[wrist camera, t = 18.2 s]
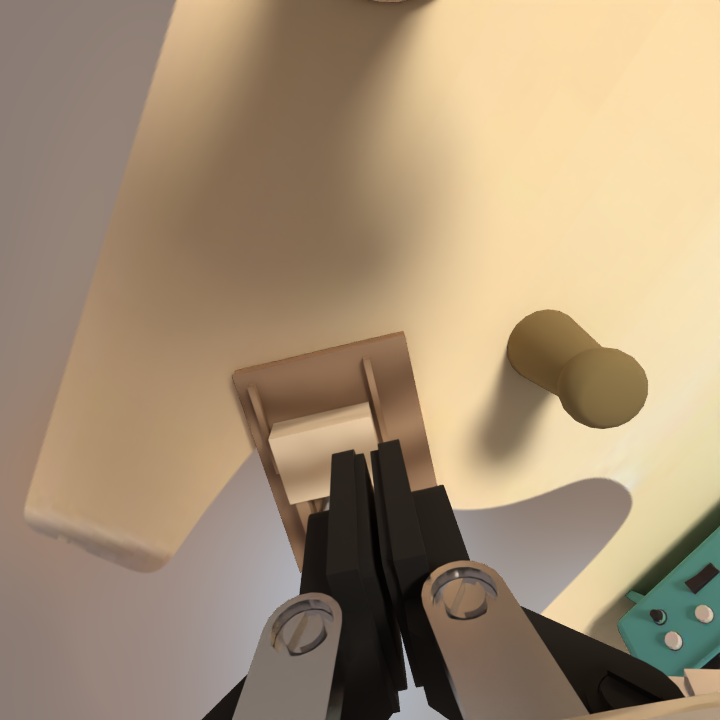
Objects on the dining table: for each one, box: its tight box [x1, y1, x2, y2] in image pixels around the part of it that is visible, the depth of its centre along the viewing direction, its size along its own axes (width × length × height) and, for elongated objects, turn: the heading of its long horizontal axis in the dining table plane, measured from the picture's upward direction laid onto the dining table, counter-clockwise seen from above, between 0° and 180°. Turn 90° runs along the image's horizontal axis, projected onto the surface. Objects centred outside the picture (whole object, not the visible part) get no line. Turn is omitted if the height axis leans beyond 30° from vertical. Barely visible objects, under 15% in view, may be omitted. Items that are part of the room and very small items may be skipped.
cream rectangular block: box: [268, 402, 379, 505], centre depth 39 cm, size 6×8×3 cm
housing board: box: [232, 331, 437, 573], centre depth 40 cm, size 20×14×3 cm
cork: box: [507, 310, 648, 429], centre depth 34 cm, size 6×6×11 cm
